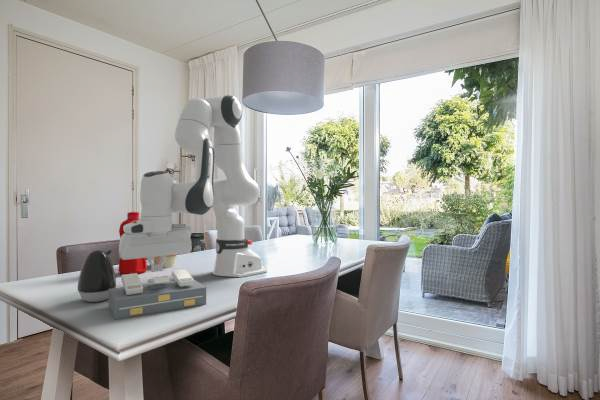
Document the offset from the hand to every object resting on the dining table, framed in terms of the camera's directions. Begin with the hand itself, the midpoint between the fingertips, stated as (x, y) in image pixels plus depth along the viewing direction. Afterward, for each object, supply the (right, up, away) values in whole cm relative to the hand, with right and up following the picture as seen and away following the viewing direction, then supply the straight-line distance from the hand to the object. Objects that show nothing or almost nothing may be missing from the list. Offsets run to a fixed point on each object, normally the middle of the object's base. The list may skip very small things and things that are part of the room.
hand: (156, 271), depth 105 cm
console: (+2, -9, -3) cm, 10 cm away
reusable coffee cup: (-18, -9, +53) cm, 57 cm away
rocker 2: (+2, -2, -3) cm, 4 cm away
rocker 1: (-4, -2, -7) cm, 9 cm away
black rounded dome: (-19, -9, +1) cm, 21 cm away
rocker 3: (+8, -2, +1) cm, 8 cm away
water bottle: (-26, -9, +39) cm, 48 cm away
